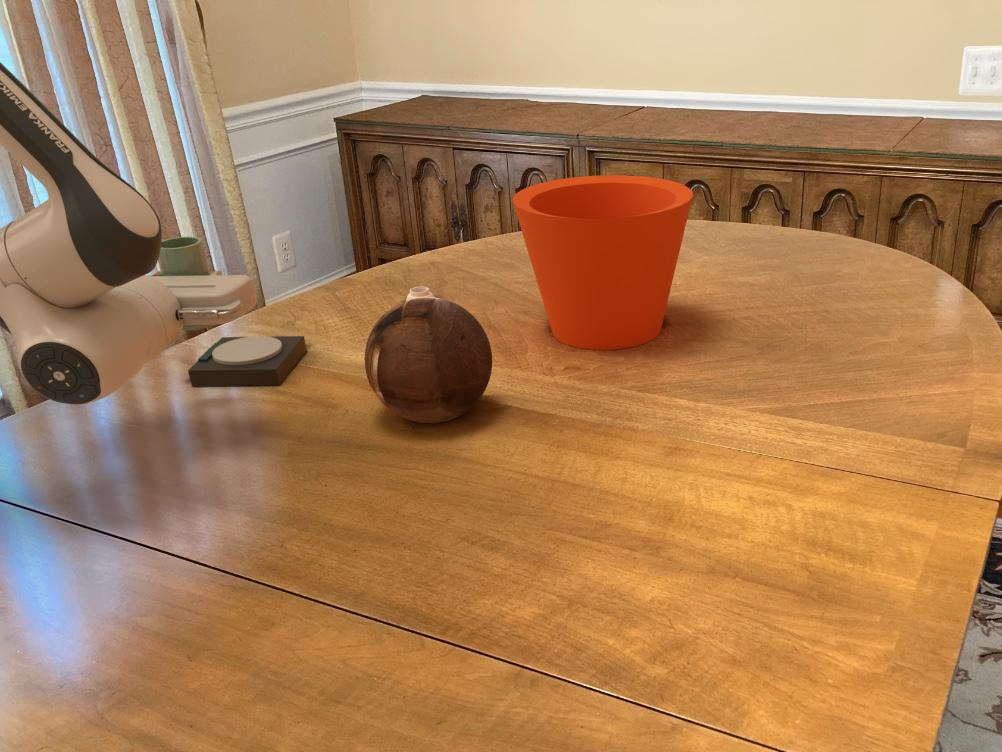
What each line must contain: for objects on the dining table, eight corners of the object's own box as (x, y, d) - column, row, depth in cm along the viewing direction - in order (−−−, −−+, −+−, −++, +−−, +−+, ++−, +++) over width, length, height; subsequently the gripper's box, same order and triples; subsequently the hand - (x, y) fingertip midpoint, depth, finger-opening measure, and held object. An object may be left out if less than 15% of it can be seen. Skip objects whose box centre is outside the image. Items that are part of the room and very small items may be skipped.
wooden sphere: (487, 385, 128) (477, 274, 121) (505, 435, 115) (495, 314, 108) (371, 400, 125) (354, 287, 118) (376, 453, 112) (357, 330, 105)
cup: (167, 330, 117) (146, 249, 113) (185, 315, 122) (166, 236, 117) (209, 330, 117) (190, 248, 113) (226, 315, 122) (208, 236, 117)
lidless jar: (442, 308, 155) (429, 299, 159) (440, 290, 154) (427, 282, 158) (413, 314, 153) (400, 306, 157) (410, 296, 152) (398, 288, 155)
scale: (191, 386, 131) (186, 366, 129) (225, 352, 141) (221, 333, 140) (279, 385, 130) (275, 364, 129) (307, 351, 141) (303, 331, 139)
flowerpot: (604, 290, 160) (600, 168, 151) (725, 325, 145) (730, 190, 135) (487, 333, 145) (475, 199, 136) (609, 377, 129) (604, 229, 120)
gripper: (224, 287, 104) (269, 250, 116) (38, 290, 105) (101, 252, 117) (236, 343, 107) (279, 300, 119) (55, 345, 108) (115, 303, 120)
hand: (189, 277), depth 118 cm, fingers closed on cup, 5 cm apart
